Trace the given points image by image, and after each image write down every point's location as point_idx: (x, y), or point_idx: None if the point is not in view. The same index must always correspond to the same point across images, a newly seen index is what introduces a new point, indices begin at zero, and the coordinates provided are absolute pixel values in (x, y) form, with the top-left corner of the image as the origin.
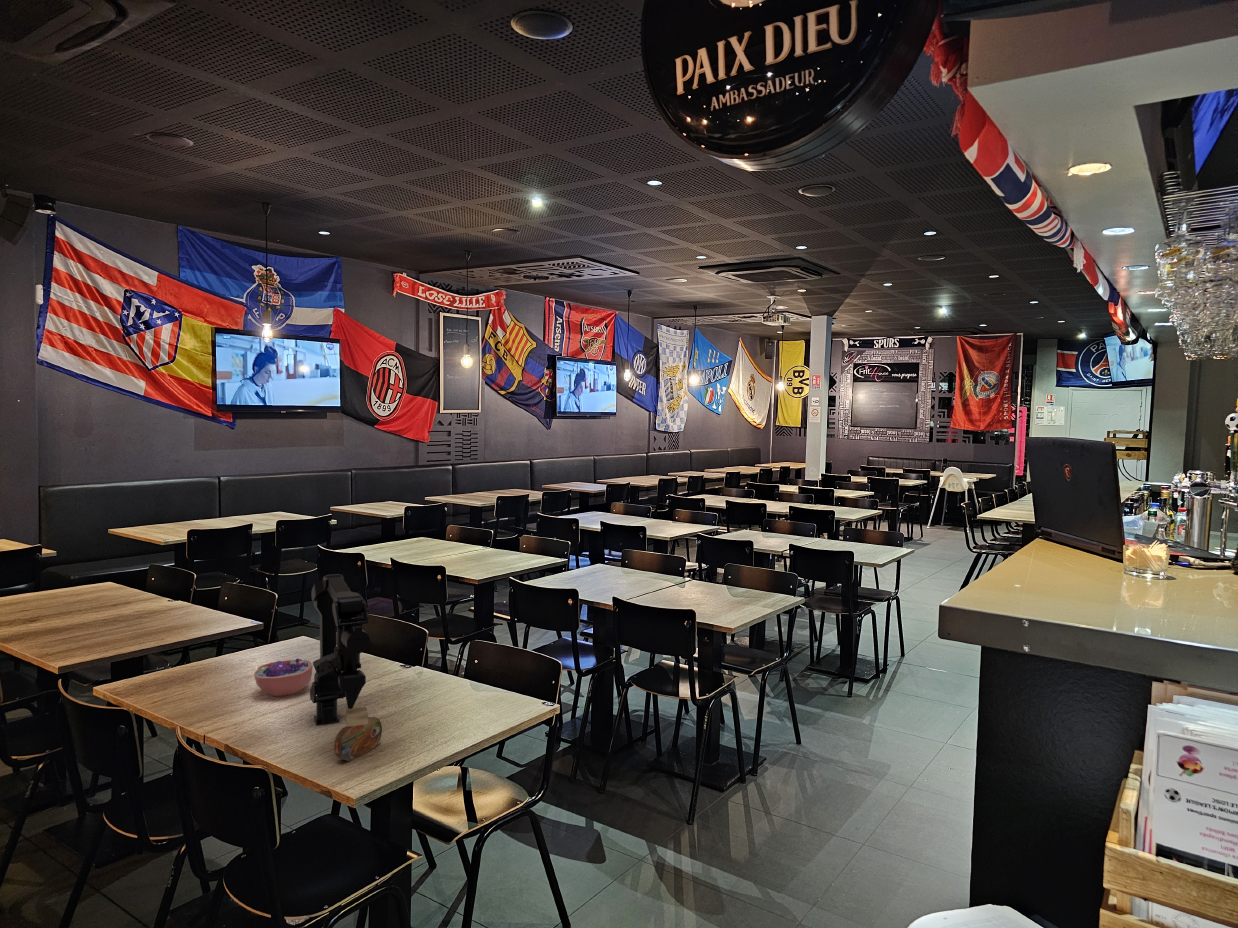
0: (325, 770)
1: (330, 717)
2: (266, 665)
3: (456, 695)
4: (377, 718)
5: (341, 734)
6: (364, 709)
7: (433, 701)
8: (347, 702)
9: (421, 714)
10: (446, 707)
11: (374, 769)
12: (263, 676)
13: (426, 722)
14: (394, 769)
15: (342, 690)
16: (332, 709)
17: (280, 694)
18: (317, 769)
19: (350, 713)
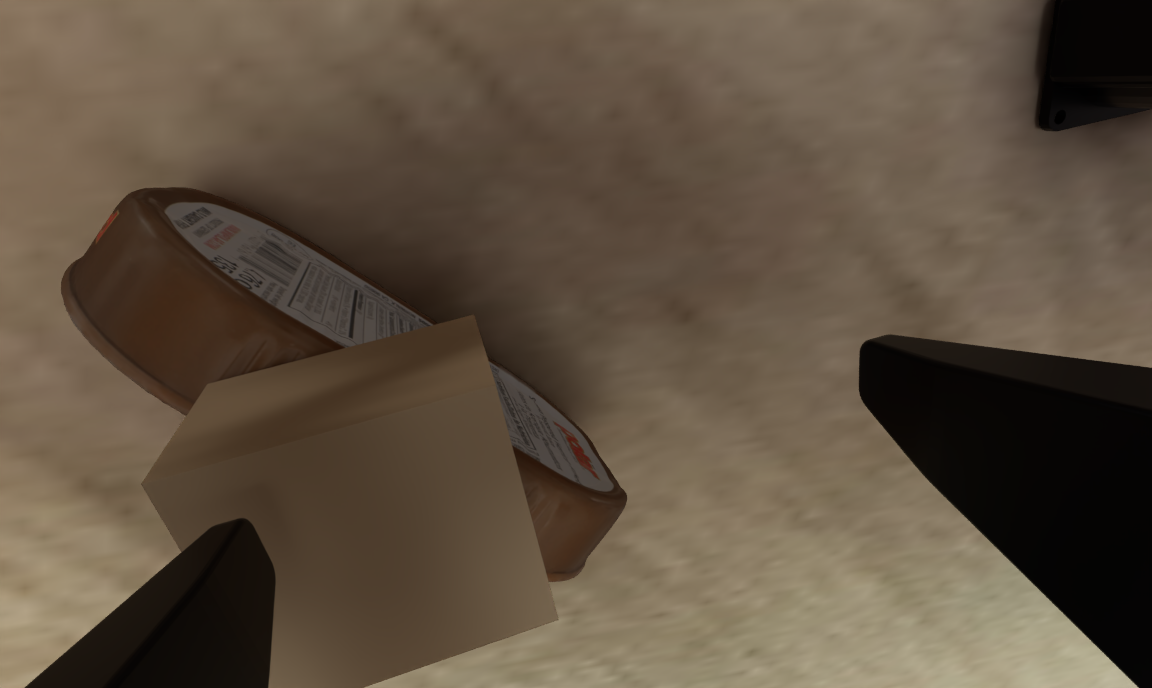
0: (26, 99)
1: (1080, 58)
2: None
3: (1063, 682)
4: (566, 578)
5: (122, 300)
6: (383, 652)
7: (1049, 607)
8: (85, 641)
9: (914, 588)
10: (946, 674)
11: (57, 489)
12: None
13: (795, 630)
14: (59, 610)
15: (961, 374)
16: (1148, 73)
17: None
18: (51, 15)
19: (204, 514)
